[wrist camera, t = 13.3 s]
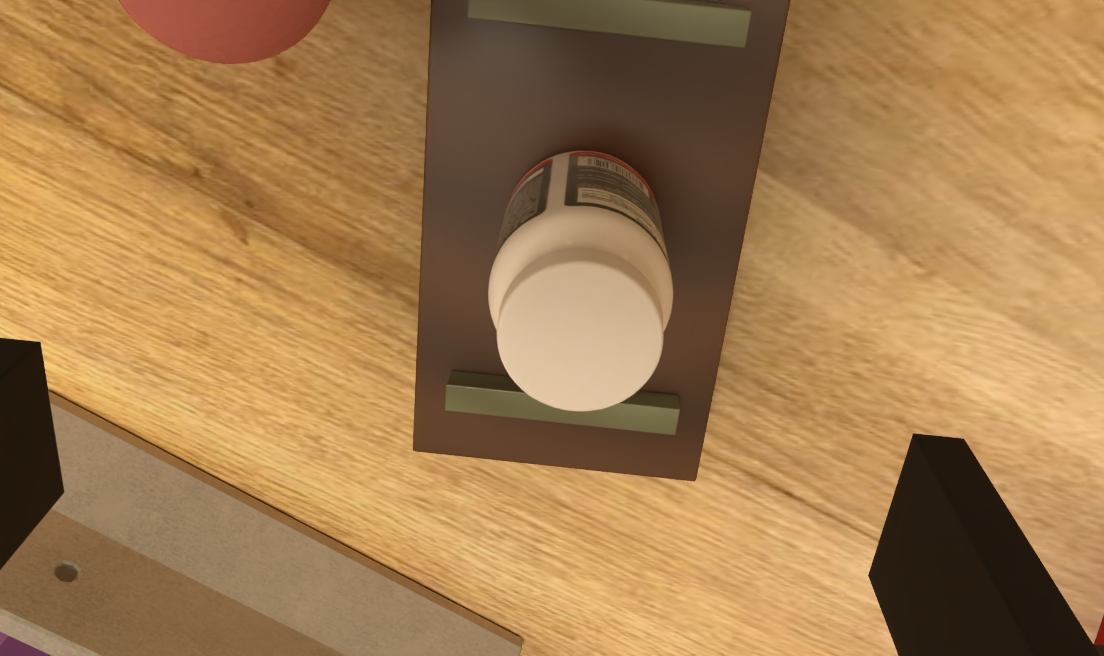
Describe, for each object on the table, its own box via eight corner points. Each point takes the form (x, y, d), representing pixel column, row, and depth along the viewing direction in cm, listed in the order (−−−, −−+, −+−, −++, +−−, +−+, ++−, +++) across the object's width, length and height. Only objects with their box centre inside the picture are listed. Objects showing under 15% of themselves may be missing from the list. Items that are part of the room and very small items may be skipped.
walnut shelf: (460, -126, 36) (429, -124, 30) (776, -91, 36) (815, -82, 30) (434, 382, 46) (407, 468, 39) (684, 409, 46) (698, 499, 39)
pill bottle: (538, 311, 37) (518, 451, 28) (482, 177, 35) (441, 284, 26) (680, 264, 36) (706, 395, 27) (632, 123, 34) (643, 216, 25)
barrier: (-2, 487, 50) (-136, 625, 41) (45, 387, 47) (-88, 512, 38) (457, 715, 55) (430, 880, 46) (523, 638, 52) (507, 798, 43)
